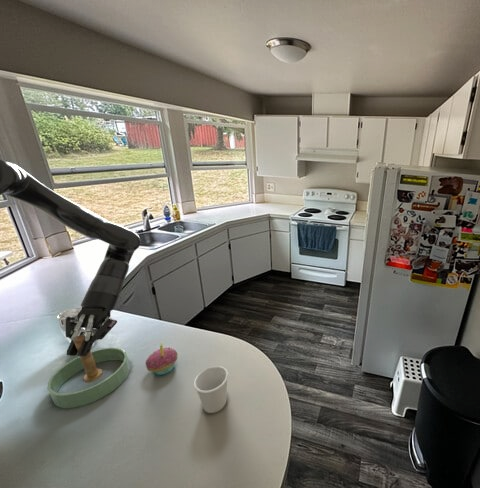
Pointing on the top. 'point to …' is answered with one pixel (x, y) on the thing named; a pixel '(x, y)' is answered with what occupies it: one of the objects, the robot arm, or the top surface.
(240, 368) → the top surface
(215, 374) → the dixie cup
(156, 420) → the top surface
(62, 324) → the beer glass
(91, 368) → the wooden cylinder
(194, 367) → the top surface
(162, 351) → the cupcake
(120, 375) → the oval ring
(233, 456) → the top surface
